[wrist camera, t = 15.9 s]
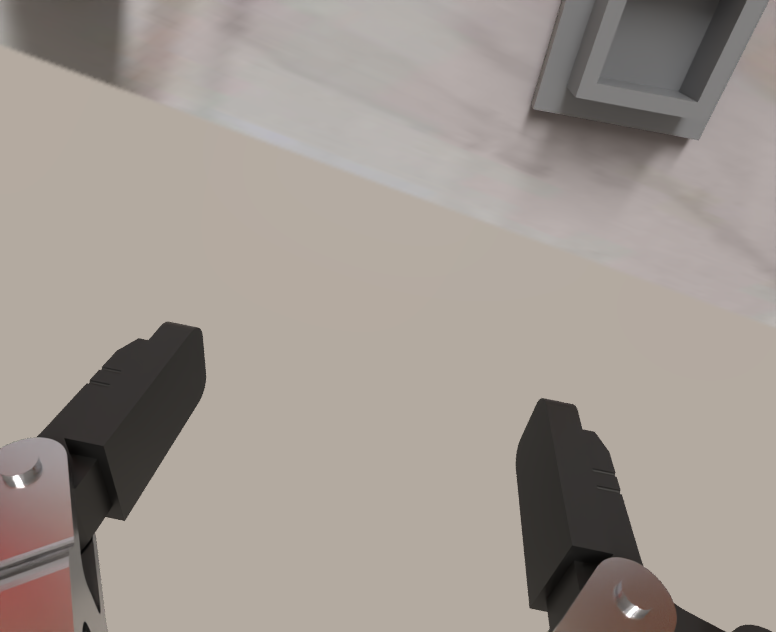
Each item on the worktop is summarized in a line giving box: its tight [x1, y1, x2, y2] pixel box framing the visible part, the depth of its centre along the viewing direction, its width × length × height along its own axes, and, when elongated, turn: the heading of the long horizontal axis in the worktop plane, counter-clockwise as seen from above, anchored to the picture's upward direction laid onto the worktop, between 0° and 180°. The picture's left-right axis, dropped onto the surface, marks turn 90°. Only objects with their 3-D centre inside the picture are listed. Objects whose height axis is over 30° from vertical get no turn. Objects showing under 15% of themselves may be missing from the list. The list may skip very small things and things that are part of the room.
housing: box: [531, 0, 769, 140], centre depth 31 cm, size 12×12×5 cm
